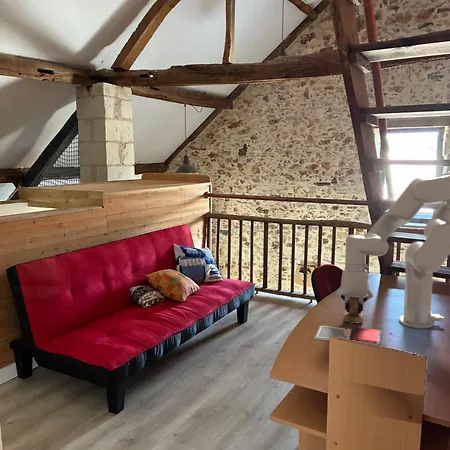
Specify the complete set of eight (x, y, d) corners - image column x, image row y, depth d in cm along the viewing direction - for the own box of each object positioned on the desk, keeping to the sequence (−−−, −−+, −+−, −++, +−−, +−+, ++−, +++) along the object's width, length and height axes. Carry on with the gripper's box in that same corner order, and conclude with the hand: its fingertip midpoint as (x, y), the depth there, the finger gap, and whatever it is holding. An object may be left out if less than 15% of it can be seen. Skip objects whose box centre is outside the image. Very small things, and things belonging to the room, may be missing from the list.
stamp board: (352, 329, 172) (352, 328, 172) (348, 343, 160) (348, 342, 160) (320, 325, 176) (320, 324, 176) (314, 339, 164) (314, 337, 164)
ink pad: (380, 333, 168) (380, 329, 168) (379, 347, 157) (379, 342, 157) (355, 330, 171) (355, 326, 171) (351, 343, 160) (351, 339, 160)
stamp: (363, 318, 183) (364, 295, 181) (362, 324, 176) (362, 301, 175) (345, 316, 185) (346, 294, 184) (343, 322, 179) (344, 299, 177)
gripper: (378, 266, 178) (376, 311, 181) (334, 262, 184) (333, 306, 187) (377, 271, 171) (375, 317, 174) (331, 267, 177) (330, 313, 180)
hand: (353, 311), depth 180 cm, fingers closed on stamp, 4 cm apart
